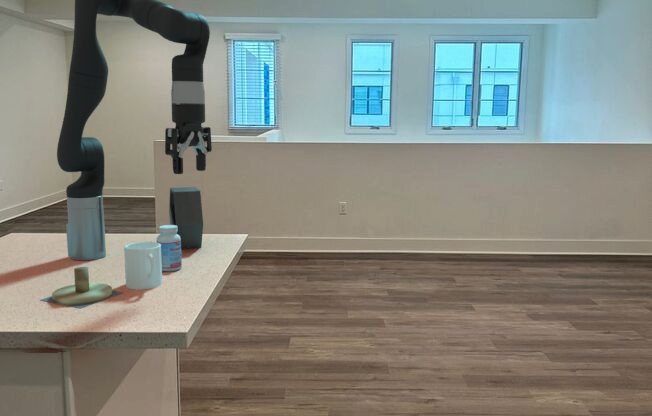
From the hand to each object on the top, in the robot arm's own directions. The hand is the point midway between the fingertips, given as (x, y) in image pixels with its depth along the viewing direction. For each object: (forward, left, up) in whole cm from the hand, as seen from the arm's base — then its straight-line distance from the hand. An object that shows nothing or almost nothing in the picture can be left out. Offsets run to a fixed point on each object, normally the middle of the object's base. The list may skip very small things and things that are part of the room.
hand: (189, 172), depth 137 cm
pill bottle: (-12, +6, -26) cm, 30 cm away
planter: (-26, +30, -27) cm, 48 cm away
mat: (-12, -22, -26) cm, 36 cm away
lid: (-12, -22, -26) cm, 36 cm away
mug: (-5, -10, -26) cm, 29 cm away
